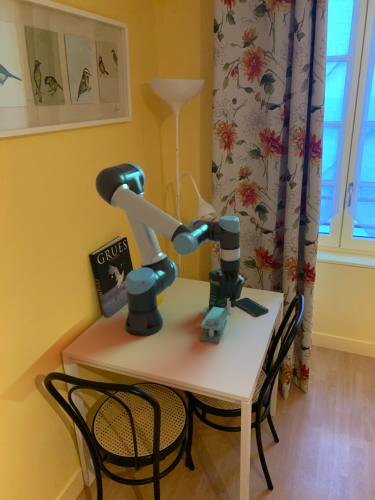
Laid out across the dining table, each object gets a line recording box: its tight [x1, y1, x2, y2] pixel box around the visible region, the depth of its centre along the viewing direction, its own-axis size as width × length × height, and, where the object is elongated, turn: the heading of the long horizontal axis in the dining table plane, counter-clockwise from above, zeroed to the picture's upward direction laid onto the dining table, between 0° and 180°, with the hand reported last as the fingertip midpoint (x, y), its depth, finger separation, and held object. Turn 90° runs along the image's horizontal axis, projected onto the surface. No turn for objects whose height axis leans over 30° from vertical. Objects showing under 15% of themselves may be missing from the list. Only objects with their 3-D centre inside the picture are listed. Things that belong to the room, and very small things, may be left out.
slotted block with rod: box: [200, 306, 228, 345], centre depth 157 cm, size 8×16×7 cm, turn 164°
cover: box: [200, 306, 229, 330], centre depth 155 cm, size 14×7×4 cm, turn 157°
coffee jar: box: [208, 267, 227, 311], centre depth 171 cm, size 10×8×19 cm
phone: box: [236, 297, 270, 318], centre depth 174 cm, size 8×1×15 cm
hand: (230, 313), depth 158 cm, fingers closed
